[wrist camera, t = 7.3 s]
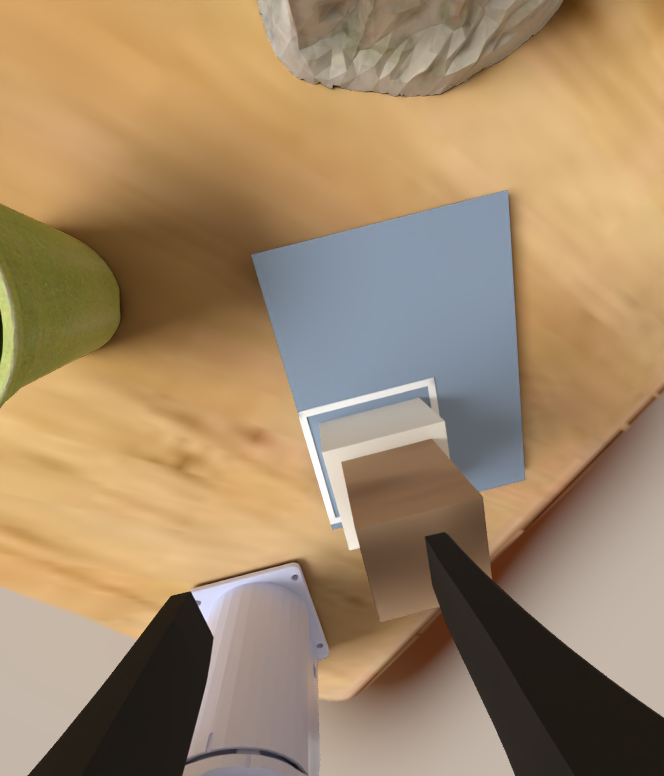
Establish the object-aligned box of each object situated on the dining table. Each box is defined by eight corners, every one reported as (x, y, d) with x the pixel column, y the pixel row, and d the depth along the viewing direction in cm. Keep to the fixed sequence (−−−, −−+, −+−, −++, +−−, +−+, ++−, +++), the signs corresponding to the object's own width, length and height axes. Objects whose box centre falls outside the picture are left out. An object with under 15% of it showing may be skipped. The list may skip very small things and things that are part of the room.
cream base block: (433, 483, 20) (459, 522, 16) (342, 507, 20) (349, 550, 16) (418, 397, 18) (444, 420, 15) (318, 423, 18) (322, 452, 15)
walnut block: (443, 513, 16) (493, 592, 12) (360, 535, 16) (380, 622, 12) (431, 438, 15) (482, 496, 11) (340, 461, 15) (355, 529, 11)
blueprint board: (515, 471, 21) (526, 480, 20) (331, 519, 21) (332, 530, 20) (496, 196, 16) (509, 189, 15) (254, 257, 16) (250, 254, 15)
